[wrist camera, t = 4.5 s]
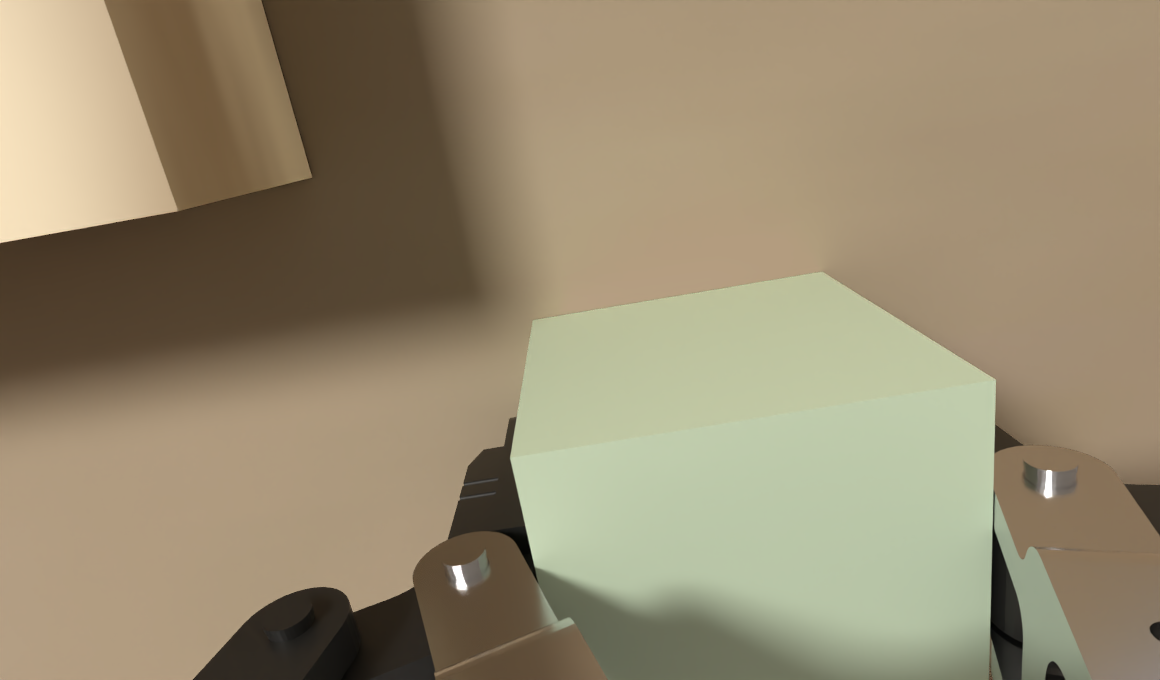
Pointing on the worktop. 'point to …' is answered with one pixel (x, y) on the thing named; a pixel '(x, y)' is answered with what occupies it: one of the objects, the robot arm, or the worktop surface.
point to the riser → (137, 110)
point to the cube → (760, 487)
